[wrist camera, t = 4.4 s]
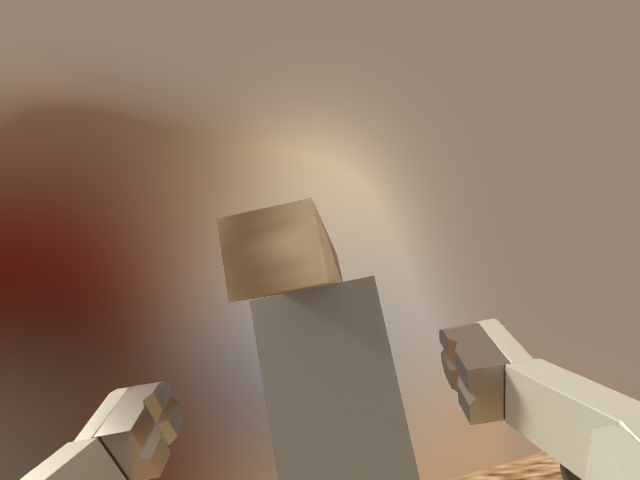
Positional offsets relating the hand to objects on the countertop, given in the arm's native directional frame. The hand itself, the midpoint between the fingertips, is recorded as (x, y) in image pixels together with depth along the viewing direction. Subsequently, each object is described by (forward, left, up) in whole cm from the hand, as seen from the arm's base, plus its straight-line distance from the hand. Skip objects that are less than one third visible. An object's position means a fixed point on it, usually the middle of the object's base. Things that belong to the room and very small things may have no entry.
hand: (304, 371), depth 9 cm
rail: (-1, +12, +2) cm, 12 cm away
